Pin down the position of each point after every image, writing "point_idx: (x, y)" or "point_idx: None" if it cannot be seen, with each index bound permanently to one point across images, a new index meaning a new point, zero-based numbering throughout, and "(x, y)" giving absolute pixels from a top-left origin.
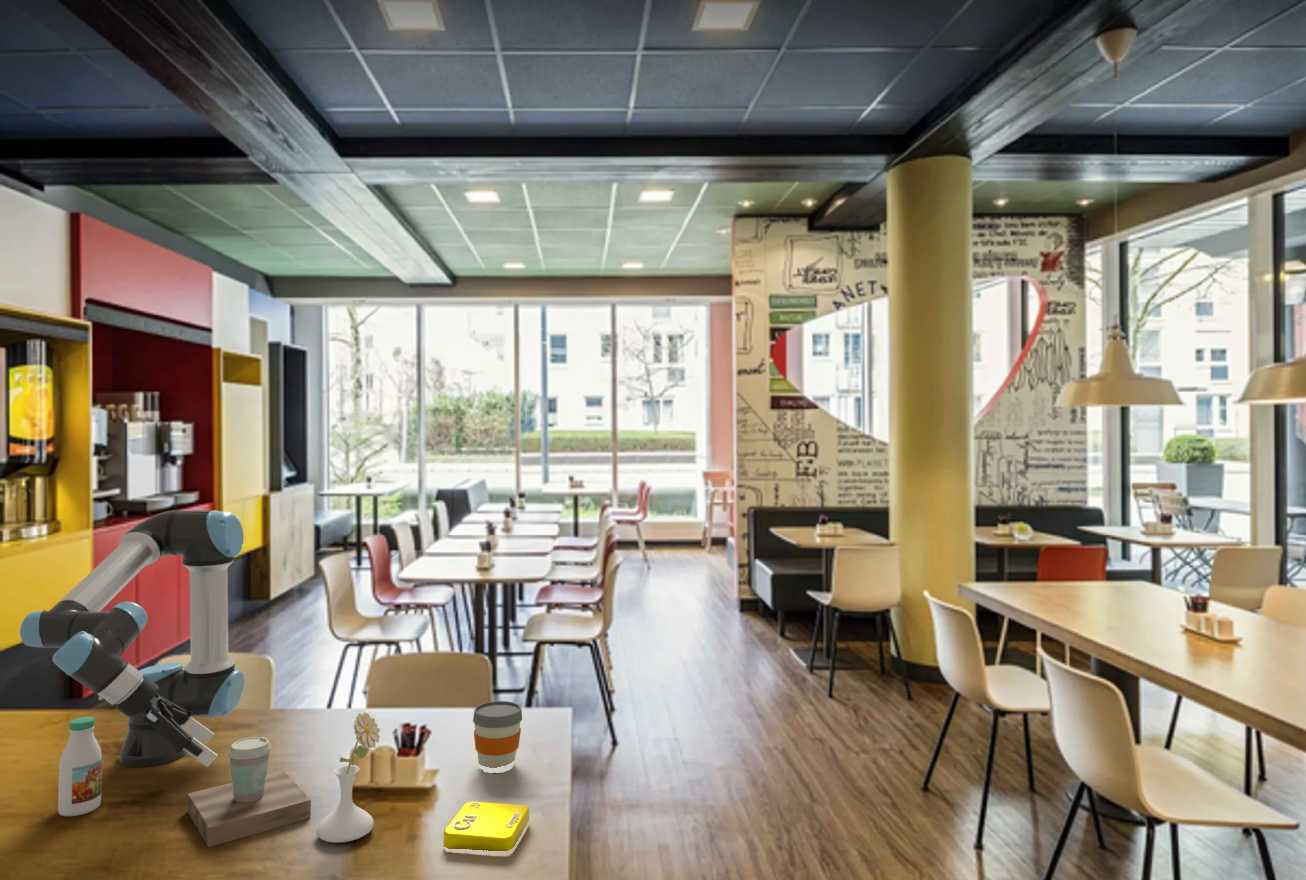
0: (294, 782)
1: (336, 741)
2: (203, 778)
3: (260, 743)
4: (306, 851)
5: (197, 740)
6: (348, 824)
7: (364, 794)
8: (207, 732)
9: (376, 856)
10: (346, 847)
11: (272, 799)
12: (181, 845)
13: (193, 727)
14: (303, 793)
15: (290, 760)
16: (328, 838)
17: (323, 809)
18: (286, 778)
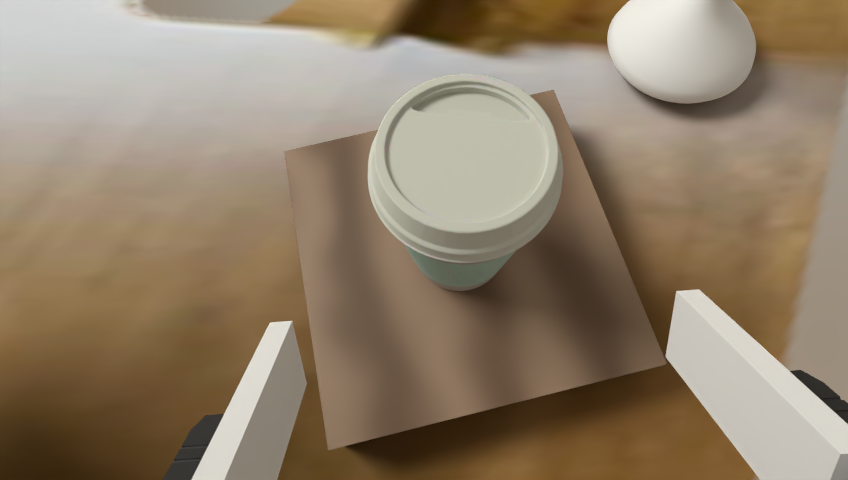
0: None
1: (55, 43)
2: (86, 403)
3: (457, 113)
4: (737, 137)
5: (800, 411)
6: (745, 20)
7: (455, 10)
8: (284, 358)
9: (800, 13)
10: None
11: None
12: (598, 452)
13: (257, 460)
14: None
15: (114, 154)
16: (744, 78)
17: None
18: (359, 143)
